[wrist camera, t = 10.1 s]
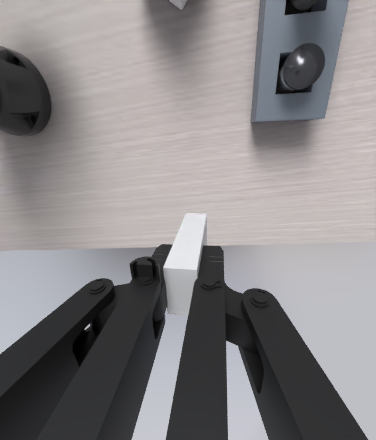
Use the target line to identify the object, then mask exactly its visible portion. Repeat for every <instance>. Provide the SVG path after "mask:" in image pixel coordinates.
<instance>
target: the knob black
mask: <svg viewBox="0 0 376 440" xmlns="http://www.w3.org/2000/svg"><path fill="white" fill-rule="evenodd" d="M324 66H325V55H324V52H323V50H322V48H321V47H320V46H318V45H317V44H314V43H305V44H302V45H300V46H298V47H297V48H296V49H295V50H293V51H292V53H291V54H290V55H289V56H288V57H287V59H286V61H285V63H284V66H283V67H282V68H281V69H280V70H279V71H278V76H277V84H276V93H278V94H289V93H291V92H293V91H295V90H301V89H304V88H306V87H308V86H310V85H312V84H313V83H315V82H316V81H317V80H318V78H319V77H320V76H321V74H322V72H323V69H324Z"/></svg>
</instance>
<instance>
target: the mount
mask: <svg viewBox="0 0 376 440" xmlns="http://www.w3.org/2000/svg"><path fill="white" fill-rule="evenodd" d="M348 2H349V0H318V1H317V3H316V4H315V5H314V6H312V7H311V12H309V13H300V14H292V15H284V14H285V6H286V0H260V9H259V22H258V35H257V48H256V61H255V74H254V87H253V100H252V113H251V123H256V122H278V121H301V120H314V119H322V118H325V114H326V109H327V104H328V100H329V95H330V90H331V85H332V80H333V75H334V70H335V65H336V60H337V55H338V51H339V46H340V41H341V36H342V31H343V26H344V21H345V16H346V11H347V6H348ZM305 43H314V44H317V45H318V46H320V47H321V48H322V50H323V52H324V55H325V66H324V69H323V72H322V74H321V76H320V77H319V78H318V80H317V81H316V82H315V83H313V84H312V85H310V86H308V87H306V88H304V89H301V90H299V92H298V93H291V94H276V95H275V93H276V84H277V76H278V67H279V65H283V64H284V63H285V61H286V59H287V57H288V56H289V55H290V54H291V53H292V51H293V50H295V49H296V48H297V47H298V46H300V45H302V44H305Z"/></svg>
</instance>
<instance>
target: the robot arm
mask: <svg viewBox="0 0 376 440" xmlns="http://www.w3.org/2000/svg"><path fill="white" fill-rule="evenodd" d="M50 110H51V103H50V96H49V92H48V89H47V86H46V83H45V81H44V79H43V77H42V76H41V74H40V72H39V71H38V70H37V68H36V67H35V66H34V65H33V64H32V63H31V62H30V61H29V60H28V59H27V58H26V57H24V56H23V55H21V54H20V53H18V52H15V51H13V50H10V49H8V48H5V47H2V46H0V131H3V132H6V133H9V134H12V135H34V134H37V133H39V132H40V131H41V130H43V128H44V127H45V126H46V124H47V122H48V120H49V117H50ZM223 254H224V253H223V250H222V248H221V247H220V246H207V214H195V213H186V215H185V217H184V220H183V222H182V224H181V227H180V229H179V231H178V234H177V236H176V238H175V241H174V243H173V245H168V244H162V245H160V246H159V247H158V248H156V250H155V252H154V254H153V255H152V257H141V258H137V259H135V260H134V261H132V262H131V263H130V269H131V275H132V280H131V282H130V283H128V284H124V285H117V286H114V285H113V282H112V281H111V280H109V279H105V278H102V279H96V280H94V281H91V282H90V283H88V284H86V285H85V286H84V287H83V288H81V289H80V290H79V291H78V292H76V293H75V294H74V295H73V296H72V297H70V298H69V299H68V300H67V301H65V302H64V303H63V304H62V305H60V306H59V307H58V308H57V309H56V310H54V311H53V312H52V313H51V314H49V315H48V316H47V317H46V318H44V319H43V320H42V321H41V322H39V323H38V324H37V325H36V326H35V327H33V328H32V329H31V330H30V331H28V332H27V333H26V334H25V335H23V336H22V337H21V338H20V339H19V340H17V341H16V342H15V343H14V344H12V345H11V346H10V347H9V348H7V349H6V350H5V351H4V352H2V354H0V440H131V439H132V436H133V432H134V429H135V425H136V422H137V418H138V415H139V412H140V408H141V404H142V401H143V397H144V394H145V391H146V387H147V383H148V380H149V377H150V373H151V370H152V367H153V363H154V360H155V356H156V352H157V349H158V346H159V342H160V339H161V335H162V332H163V328H164V325H165V311H166V308H167V311H168V314H177V315H188V320H187V325H186V331H185V337H184V342H183V347H182V353H181V358H180V364H179V370H178V375H177V381H176V386H175V392H174V397H173V403H172V409H171V414H170V420H169V425H168V431H167V436H166V440H228V426H227V425H228V424H227V375H226V374H227V372H226V341H229V342H231V343H233V344H236V345H238V347H239V351H240V353H241V357H242V360H243V363H244V365H245V369H246V372H247V375H248V378H249V381H250V384H251V387H252V390H253V393H254V396H255V399H256V402H257V405H258V409H259V412H260V414H261V417H262V421H263V423H264V427H265V430H266V433H267V436H268V439H269V440H368V439H367V437H366V436H365V434H364V433H363V431H362V429H361V428H360V426H359V425H358V423H357V422H356V420H355V419H354V417H353V416H352V414H351V413H350V411H349V410H348V408H347V407H346V405H345V403H344V402H343V400H342V399H341V398H340V396H339V394H338V393H337V391H336V390H335V388H334V387H333V385H332V384H331V382H330V380H329V379H328V377H327V376H326V374H325V373H324V371H323V370H322V368H321V367H320V365H319V364H318V362H317V361H316V359H315V358H314V356H313V355H312V353H311V351H310V350H309V348H308V347H307V345H306V344H305V342H304V341H303V339H302V338H301V336H300V335H299V333H298V331H297V330H296V329H295V327H294V326H293V324H292V322H291V321H290V319H289V318H288V316H287V315H286V313H285V312H284V310H283V309H282V307H281V306H280V304H279V302H278V301H277V299H276V298H275V297H274V296H273V295H272V294H271V293H269V292H267V291H265V290H262V289H255V288H254V289H249V290H247V291H245V292H244V293H243V294H242V293H239V292H236V291H233V290H232V289H230V288H229V287H228V286H227V285H226V283H225V281H224V256H223ZM89 323H90V325H91V326H90V327H89V328H87V329H86V330H84V329H85V327H86V326H87V325H88V324H89Z"/></svg>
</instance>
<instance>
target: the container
mask: <svg viewBox="0 0 376 440" xmlns="http://www.w3.org/2000/svg"><path fill="white" fill-rule="evenodd" d="M169 1H170V2H171V3H173V4H174V5H175V6H177V7H178V8H179V9H181V10H182V9H183V8H184V6H185V4H186V2H187V0H169Z"/></svg>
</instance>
